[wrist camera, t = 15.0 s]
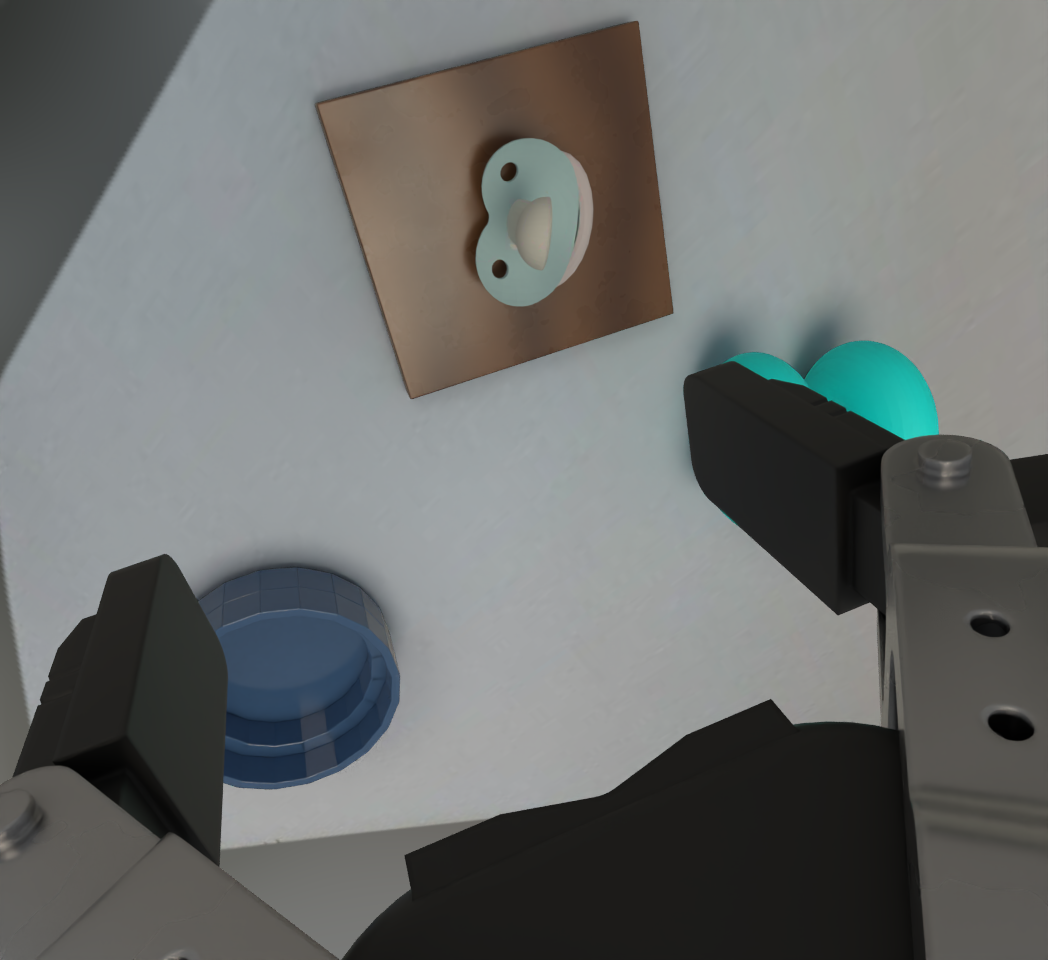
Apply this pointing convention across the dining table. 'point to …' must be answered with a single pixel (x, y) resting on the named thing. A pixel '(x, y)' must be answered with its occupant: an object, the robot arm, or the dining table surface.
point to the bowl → (300, 675)
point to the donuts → (862, 385)
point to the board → (460, 214)
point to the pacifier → (533, 221)
